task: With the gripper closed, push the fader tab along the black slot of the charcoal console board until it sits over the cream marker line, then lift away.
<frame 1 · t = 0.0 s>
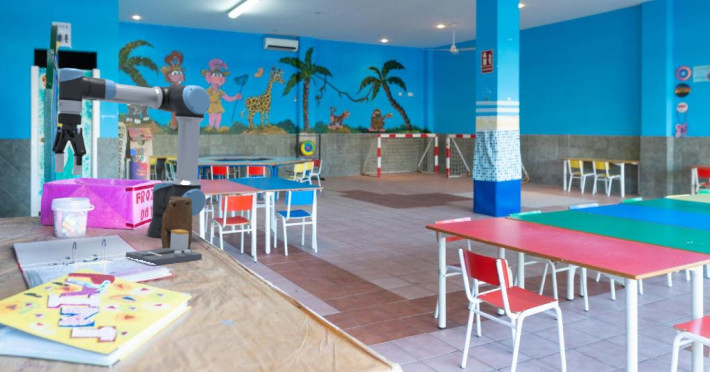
hand: (68, 173, 208), 28 cm above the table, fingers open, 13 cm apart
console board: (164, 258, 208), on the table
fader tab: (179, 240, 212), point 6 cm above the table, slide at 0.0 cm
brown rounded upright piece: (176, 248, 229), on the table
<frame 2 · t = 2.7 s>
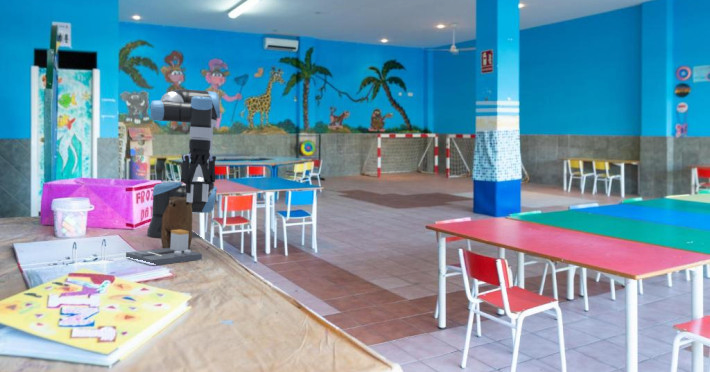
hand: (197, 201, 217), 20 cm above the table, fingers open, 6 cm apart
nothing on the table moved.
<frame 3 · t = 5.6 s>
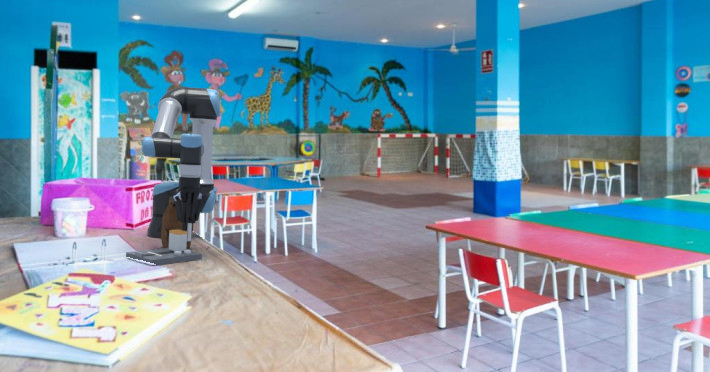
hand: (187, 240, 215), 6 cm above the table, fingers closed
fader tab: (177, 240, 212), point 6 cm above the table, slide at 0.7 cm, touching gripper
everything else where it was.
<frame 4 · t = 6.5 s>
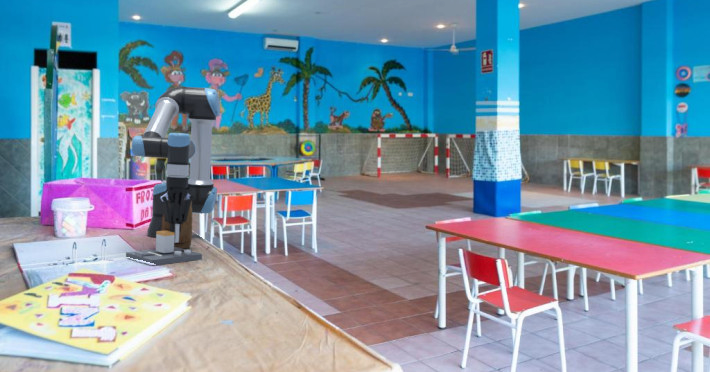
hand: (174, 241, 211), 6 cm above the table, fingers closed
fader tab: (165, 241, 208), point 6 cm above the table, slide at 6.0 cm, touching gripper
everything else where it was.
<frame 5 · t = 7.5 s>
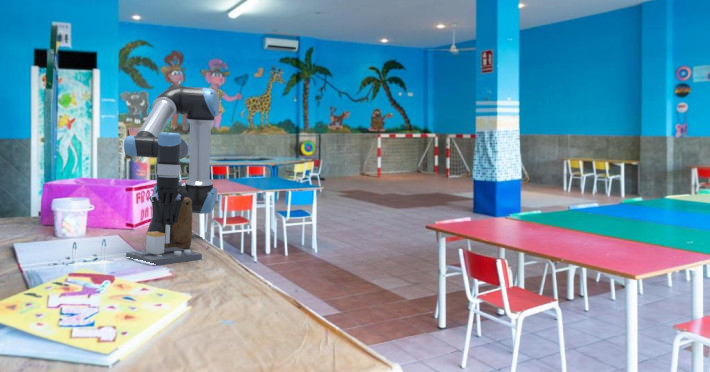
hand: (165, 242, 208), 6 cm above the table, fingers closed
fader tab: (155, 242, 205), point 6 cm above the table, slide at 9.8 cm, touching gripper
everything else where it was.
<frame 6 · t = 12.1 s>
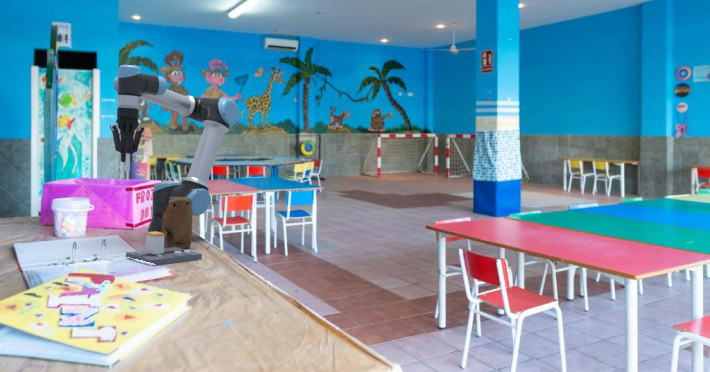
hand: (125, 170, 219), 29 cm above the table, fingers closed
fader tab: (155, 242, 205), point 6 cm above the table, slide at 9.9 cm
everything else where it was.
at the end: fader tab slide at 9.9 cm; fader tab moved 9.9 cm from its start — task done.
